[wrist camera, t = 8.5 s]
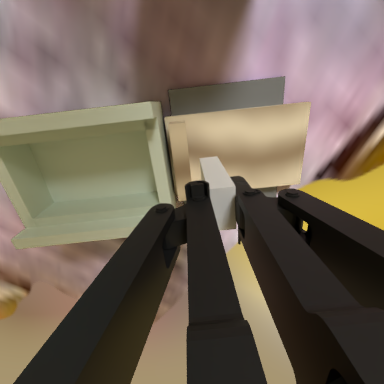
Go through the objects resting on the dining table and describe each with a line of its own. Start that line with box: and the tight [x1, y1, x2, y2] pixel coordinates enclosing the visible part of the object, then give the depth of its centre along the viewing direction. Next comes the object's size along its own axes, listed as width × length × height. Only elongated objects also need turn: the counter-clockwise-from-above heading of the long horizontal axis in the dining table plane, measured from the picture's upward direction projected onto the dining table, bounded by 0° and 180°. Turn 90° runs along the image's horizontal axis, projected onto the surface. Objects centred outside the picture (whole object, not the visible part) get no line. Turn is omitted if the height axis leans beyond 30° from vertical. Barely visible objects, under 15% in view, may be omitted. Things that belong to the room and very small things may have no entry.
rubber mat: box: [168, 76, 285, 205], centre depth 23 cm, size 14×12×1 cm
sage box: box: [0, 101, 176, 249], centre depth 21 cm, size 12×16×7 cm
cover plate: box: [164, 102, 311, 201], centre depth 21 cm, size 9×15×4 cm, turn 96°
